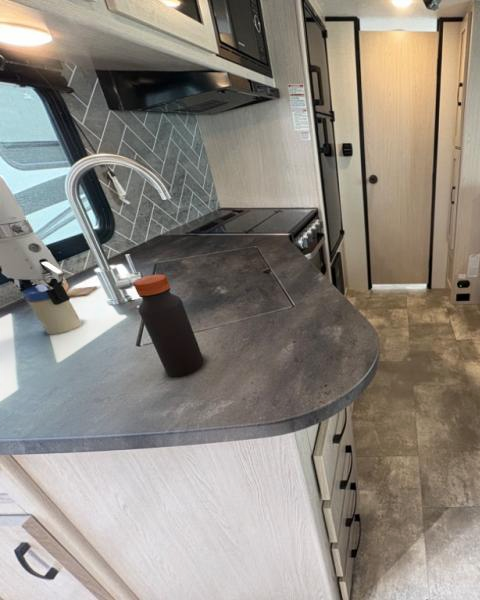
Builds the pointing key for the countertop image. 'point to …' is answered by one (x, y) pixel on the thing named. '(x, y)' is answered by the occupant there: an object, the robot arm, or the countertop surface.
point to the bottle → (168, 326)
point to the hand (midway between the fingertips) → (49, 301)
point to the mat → (81, 291)
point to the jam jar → (55, 316)
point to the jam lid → (35, 293)
